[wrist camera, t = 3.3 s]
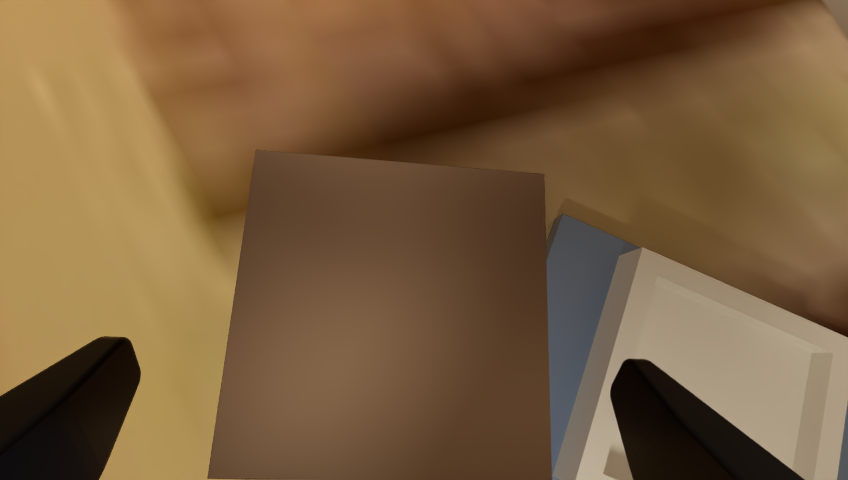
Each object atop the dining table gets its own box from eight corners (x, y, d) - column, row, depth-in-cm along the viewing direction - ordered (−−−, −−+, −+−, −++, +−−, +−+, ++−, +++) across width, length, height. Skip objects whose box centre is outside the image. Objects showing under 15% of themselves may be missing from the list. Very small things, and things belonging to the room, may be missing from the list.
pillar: (446, 401, 16) (551, 482, 7) (309, 396, 16) (207, 479, 6) (449, 268, 17) (544, 173, 8) (323, 261, 17) (255, 149, 7)
